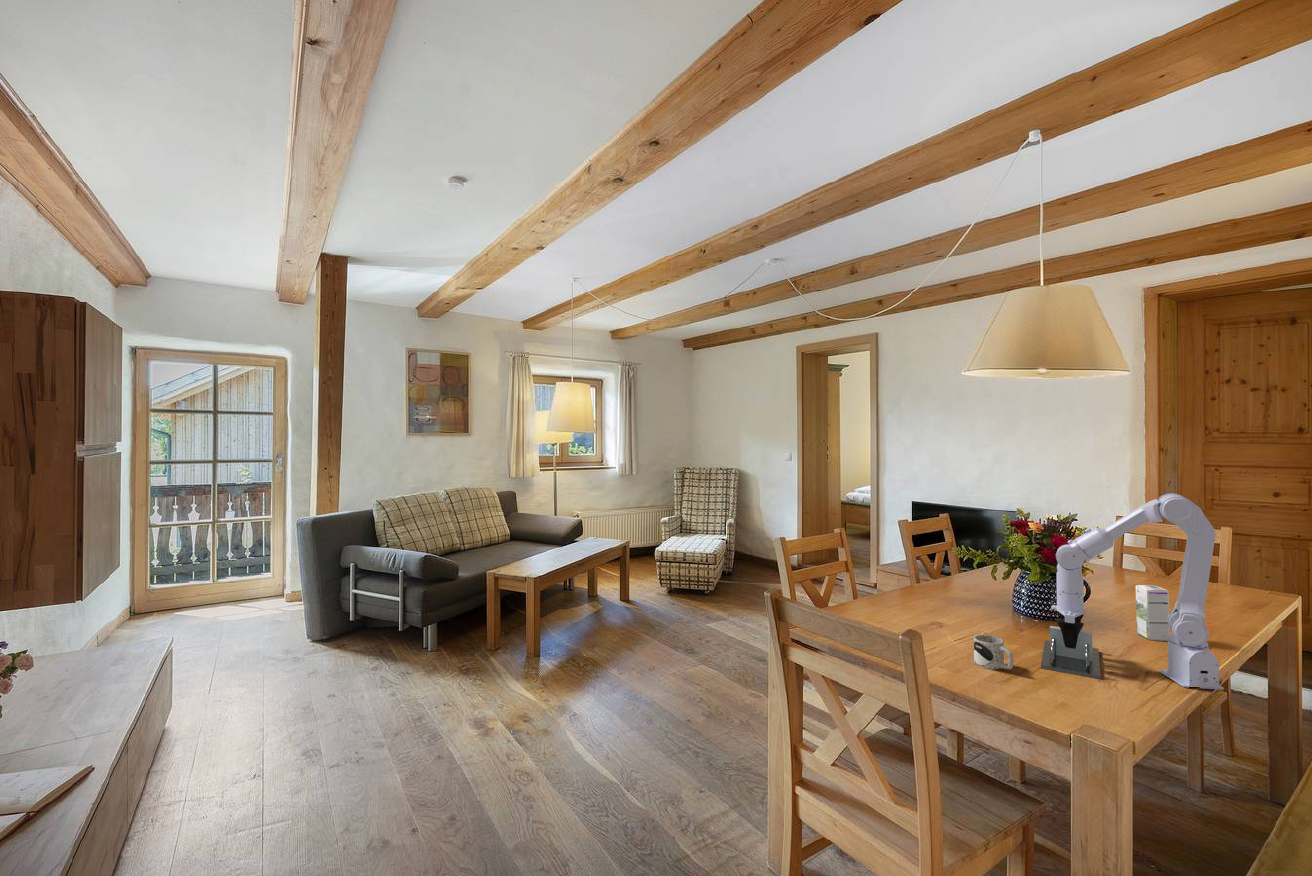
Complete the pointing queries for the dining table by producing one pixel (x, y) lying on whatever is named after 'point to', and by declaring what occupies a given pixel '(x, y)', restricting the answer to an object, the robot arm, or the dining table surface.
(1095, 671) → the rack
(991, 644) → the mug
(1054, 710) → the dining table surface
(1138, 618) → the syrup box
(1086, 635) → the plate
